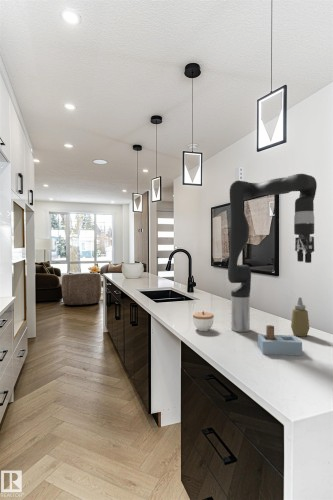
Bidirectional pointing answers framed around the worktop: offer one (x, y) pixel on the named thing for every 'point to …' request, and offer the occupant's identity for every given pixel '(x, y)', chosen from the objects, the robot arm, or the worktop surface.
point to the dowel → (269, 332)
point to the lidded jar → (203, 320)
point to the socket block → (280, 345)
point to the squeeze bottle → (300, 319)
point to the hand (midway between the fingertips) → (304, 262)
